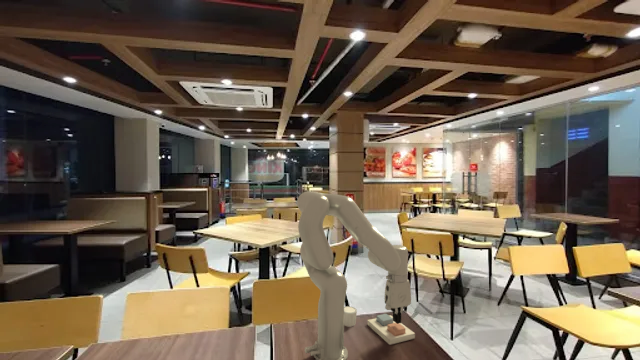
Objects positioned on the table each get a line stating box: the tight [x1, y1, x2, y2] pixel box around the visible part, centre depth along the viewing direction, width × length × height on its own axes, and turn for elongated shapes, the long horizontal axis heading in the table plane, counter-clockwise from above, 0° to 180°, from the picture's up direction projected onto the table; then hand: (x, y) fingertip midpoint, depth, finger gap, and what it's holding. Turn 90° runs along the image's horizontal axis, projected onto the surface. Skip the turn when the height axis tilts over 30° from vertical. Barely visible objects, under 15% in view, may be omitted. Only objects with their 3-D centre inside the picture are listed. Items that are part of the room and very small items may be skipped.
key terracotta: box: [387, 323, 405, 336], centre depth 121 cm, size 5×5×2 cm
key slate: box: [375, 313, 393, 326], centre depth 129 cm, size 5×5×2 cm
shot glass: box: [344, 305, 358, 328], centre depth 131 cm, size 7×7×7 cm
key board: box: [367, 314, 416, 345], centre depth 125 cm, size 12×16×3 cm
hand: (396, 321), depth 121 cm, fingers closed
